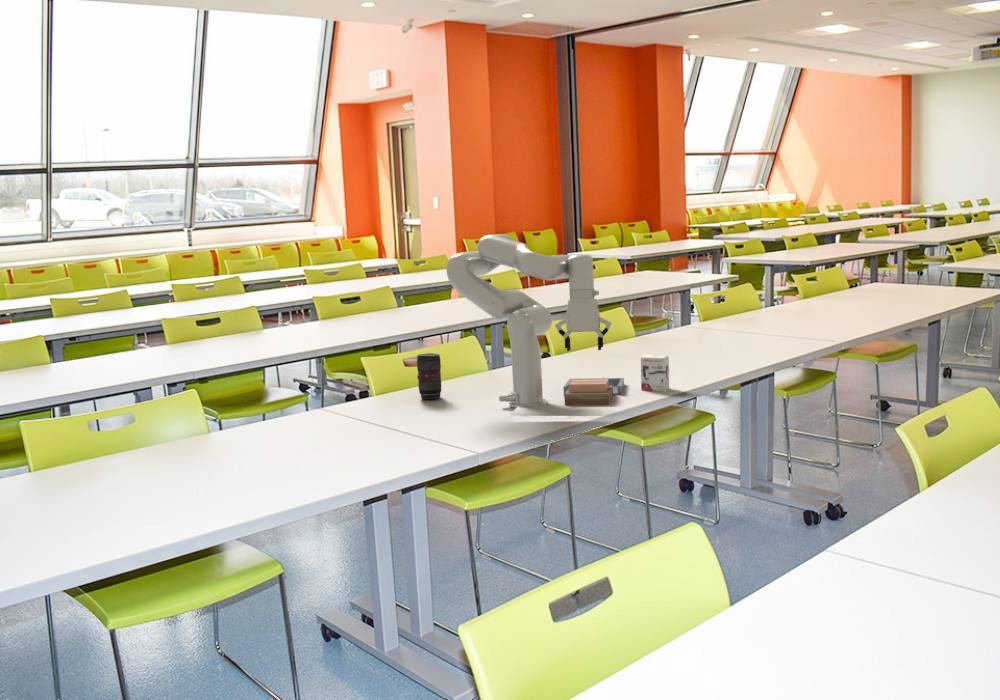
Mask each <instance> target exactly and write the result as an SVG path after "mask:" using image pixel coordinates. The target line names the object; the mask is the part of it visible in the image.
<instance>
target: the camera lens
mask: <svg viewBox="0 0 1000 700" xmlns="http://www.w3.org/2000/svg"><path fill="white" fill-rule="evenodd" d="M441 366H442V363H441V355H440V354H439V353H419V354H417V357H416V367H417V376H416V377H417V380H418V382H417V383H418V384H417V385H418V390H419V394H420V398H421V399H423V400H433V399H438V398H441V393H442V375H441V374H442V372H441V368H442V367H441Z"/></svg>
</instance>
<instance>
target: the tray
mask: <svg viewBox="0 0 1000 700" xmlns="http://www.w3.org/2000/svg"><path fill="white" fill-rule="evenodd" d="M583 379H584V378H569V379H568V380H567V382H566V383H565V384H564V385H563V395H564V394H565V393H566V391H567V390H568V388H569V383H570V382H571V381H572V380H583ZM587 379H609V385H613V396H621V395H622V392H623V389H624V387H625V378H624V377H611V378H609V377H606V378H605V377H602V378H600V377H599V378H597V377H596V378H587Z"/></svg>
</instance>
